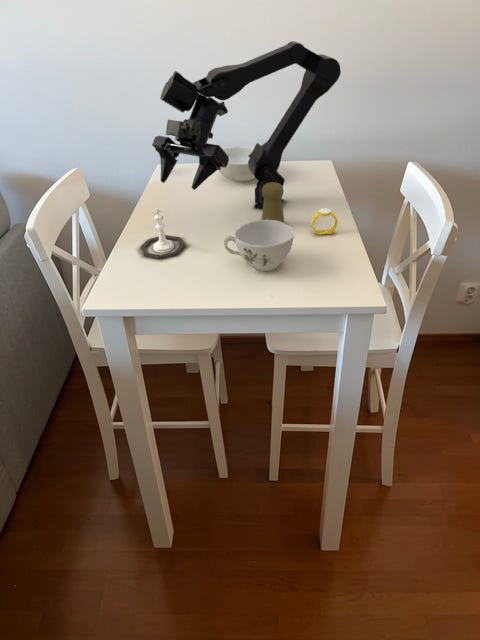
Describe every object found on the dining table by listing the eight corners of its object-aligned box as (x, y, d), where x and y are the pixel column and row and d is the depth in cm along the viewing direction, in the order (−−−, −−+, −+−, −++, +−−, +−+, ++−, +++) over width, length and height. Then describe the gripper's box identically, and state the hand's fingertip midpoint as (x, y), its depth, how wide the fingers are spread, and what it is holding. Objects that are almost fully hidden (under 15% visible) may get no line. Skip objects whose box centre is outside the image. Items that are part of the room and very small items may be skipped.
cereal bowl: (271, 186, 137) (271, 162, 133) (215, 188, 138) (213, 165, 133) (269, 166, 150) (269, 143, 146) (218, 168, 151) (216, 146, 147)
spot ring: (191, 241, 113) (190, 238, 113) (171, 261, 106) (171, 259, 105) (155, 235, 116) (154, 233, 116) (133, 254, 109) (133, 252, 109)
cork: (288, 223, 118) (289, 181, 111) (279, 233, 114) (279, 190, 107) (266, 219, 120) (265, 178, 113) (256, 229, 116) (255, 187, 109)
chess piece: (176, 249, 110) (170, 209, 104) (156, 254, 109) (149, 214, 102) (170, 240, 114) (164, 202, 107) (151, 245, 112) (143, 206, 106)
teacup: (294, 250, 107) (295, 218, 102) (292, 280, 97) (293, 246, 92) (230, 249, 109) (227, 217, 104) (221, 278, 99) (218, 245, 94)
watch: (335, 230, 114) (337, 207, 110) (337, 235, 112) (339, 212, 108) (310, 231, 114) (311, 208, 110) (312, 236, 112) (313, 213, 108)
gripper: (150, 99, 106) (126, 163, 105) (217, 106, 97) (191, 176, 97) (176, 125, 116) (154, 184, 115) (239, 134, 107) (216, 198, 107)
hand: (177, 185), depth 108 cm, fingers open, 9 cm apart
